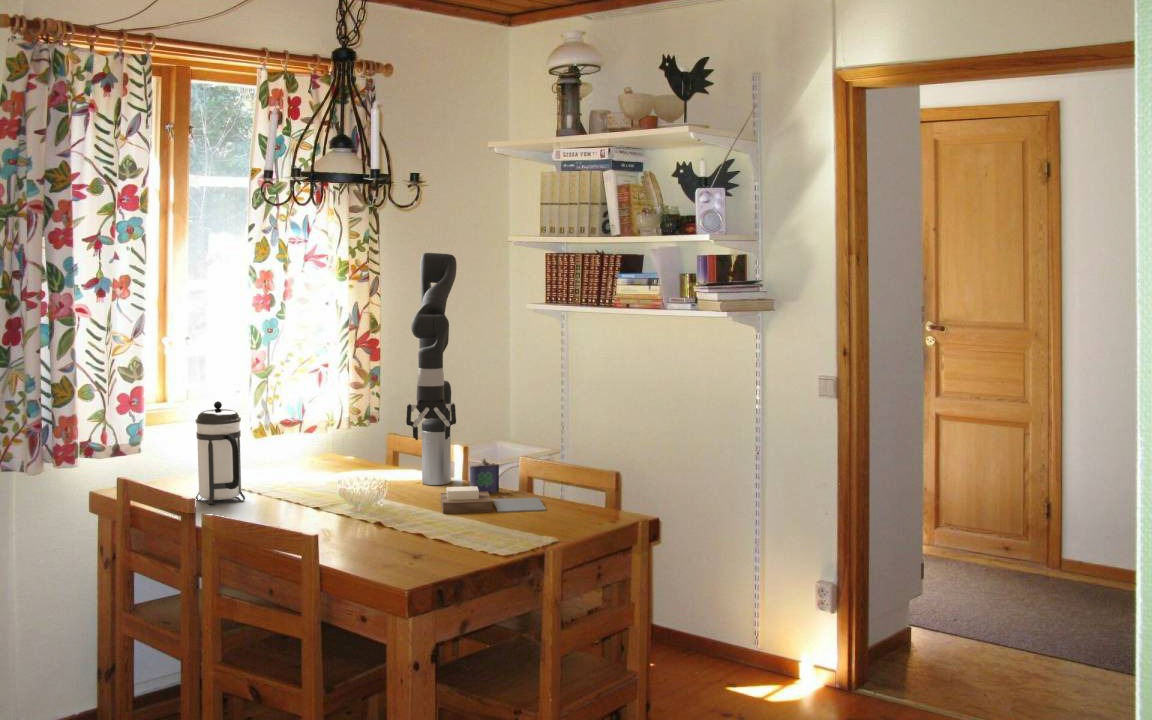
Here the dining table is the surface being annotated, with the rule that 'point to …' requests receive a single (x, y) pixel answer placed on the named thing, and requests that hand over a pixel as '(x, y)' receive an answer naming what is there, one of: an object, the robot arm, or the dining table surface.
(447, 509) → the board
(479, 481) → the flask
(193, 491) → the dining table surface
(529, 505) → the mat
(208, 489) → the coffee press
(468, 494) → the tile
